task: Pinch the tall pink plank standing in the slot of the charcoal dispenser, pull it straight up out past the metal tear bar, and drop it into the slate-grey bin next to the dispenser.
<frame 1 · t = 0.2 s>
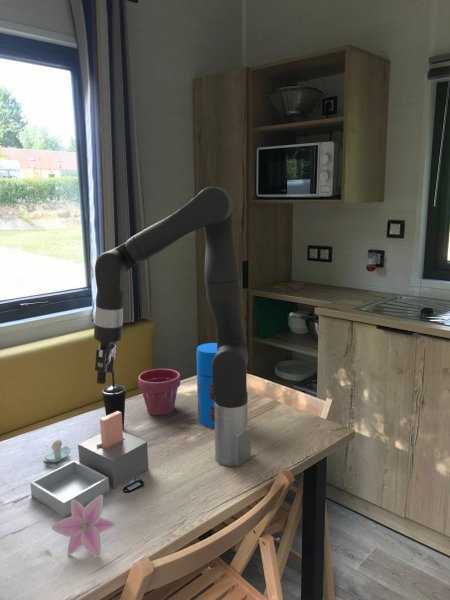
hand: (105, 377, 140), 23 cm above the table, tool pointing down, fingers open, 8 cm apart
plant pot: (160, 410, 173), on the table
pacifier: (56, 459, 142), on the table
thermos: (214, 420, 165), on the table
tall pink plank: (113, 459, 135), point 3 cm above the table, touching dispenser
bin: (70, 494, 125), on the table
drinking cup: (116, 430, 159), on the table
lily: (86, 545, 107), on the table
dispenser: (114, 469, 135), on the table
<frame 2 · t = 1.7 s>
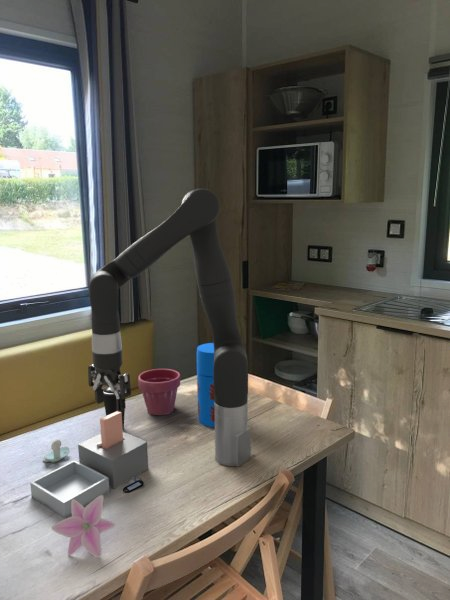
hand: (110, 406, 132), 19 cm above the table, tool pointing down, fingers open, 8 cm apart
nothing on the table moved.
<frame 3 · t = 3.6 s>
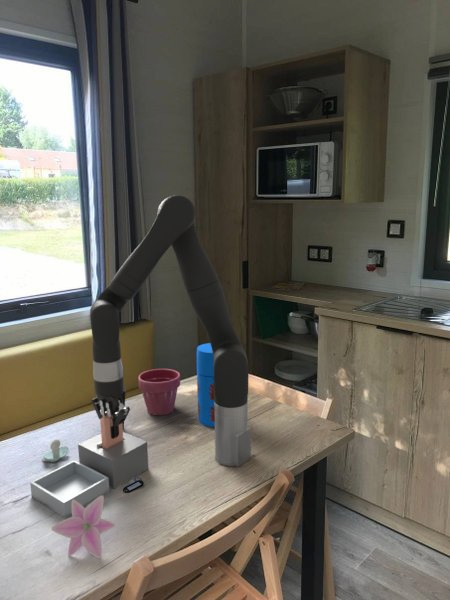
hand: (112, 436, 133), 10 cm above the table, tool pointing down, fingers closed on tall pink plank, 1 cm apart
tall pink plank: (113, 459, 135), point 3 cm above the table, touching gripper
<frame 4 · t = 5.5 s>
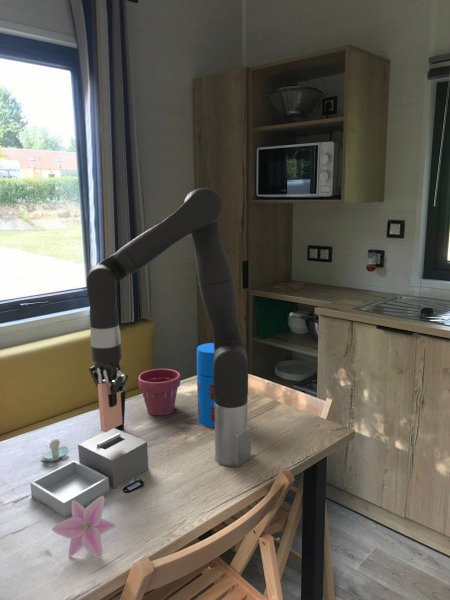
hand: (110, 404, 131), 19 cm above the table, tool pointing down, fingers closed on tall pink plank, 1 cm apart
tall pink plank: (111, 427, 133), point 13 cm above the table, touching gripper
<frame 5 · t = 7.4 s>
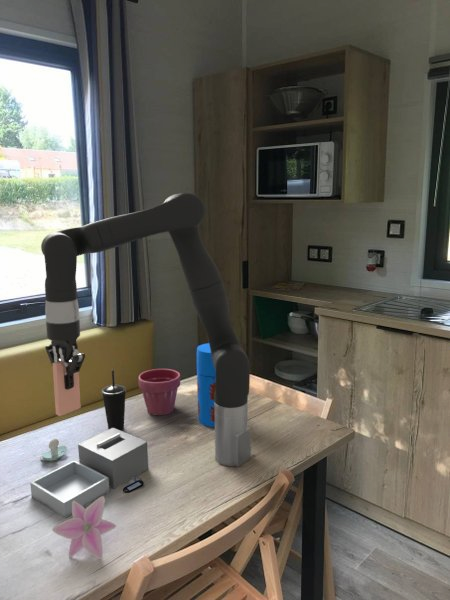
hand: (66, 387, 120), 28 cm above the table, tool pointing down, fingers closed on tall pink plank, 1 cm apart
tall pink plank: (68, 411, 122), point 22 cm above the table, touching gripper
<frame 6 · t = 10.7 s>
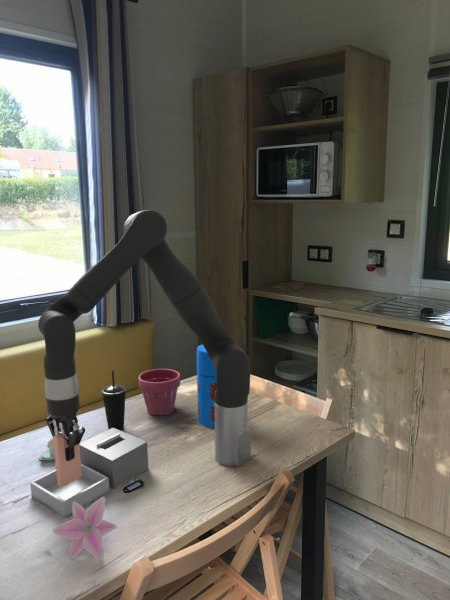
hand: (67, 458, 122), 10 cm above the table, tool pointing down, fingers closed on tall pink plank, 1 cm apart
tall pink plank: (69, 480, 124), point 4 cm above the table, touching gripper
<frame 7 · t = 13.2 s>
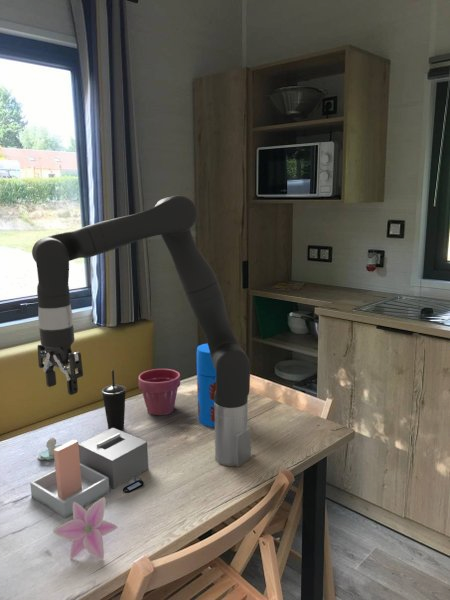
hand: (62, 389, 119), 28 cm above the table, tool pointing down, fingers open, 8 cm apart
tall pink plank: (70, 492, 124), point 1 cm above the table, touching bin
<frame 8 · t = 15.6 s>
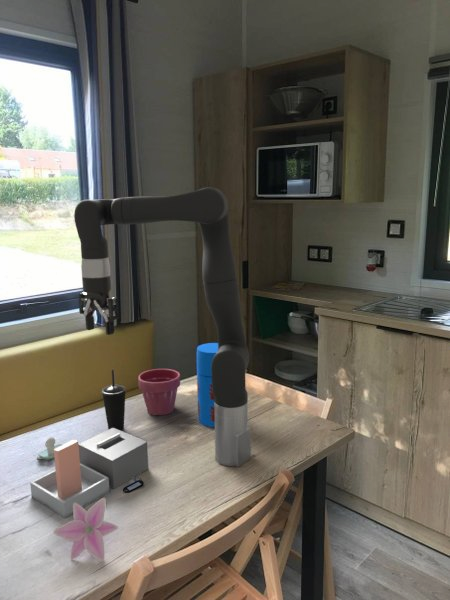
hand: (100, 331, 138), 36 cm above the table, tool pointing down, fingers open, 8 cm apart
at the end: tall pink plank inside the target area on the bin (0.2 cm from its centre), point 0.6 cm above the bin's base; the gripper is holding nothing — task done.
